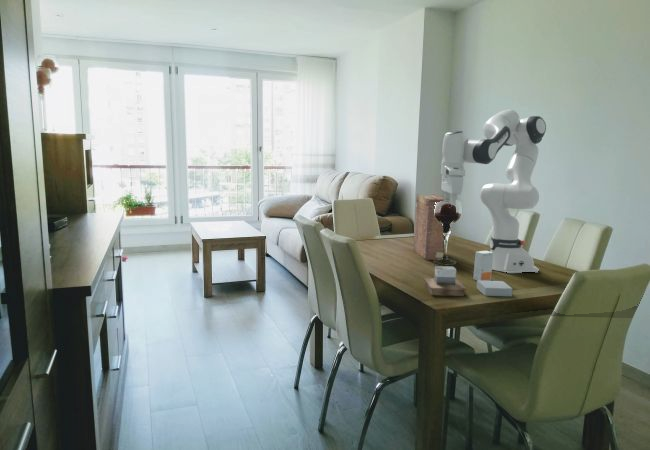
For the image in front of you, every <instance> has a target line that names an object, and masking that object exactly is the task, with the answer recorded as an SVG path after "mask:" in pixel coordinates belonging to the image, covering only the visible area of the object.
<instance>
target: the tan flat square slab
mask: <svg viewBox="0 0 650 450" xmlns="http://www.w3.org/2000/svg"><path fill="white" fill-rule="evenodd" d="M423 280H424V281H425V282H424V283H425V284H424V286H425V288H426V290H427V291H428V292H429V293H430V295H431V296H453V297H455V296H456V297H464V296H465V291H467V288H466V286H464V285H463V283H462V282H460V280H459V279H457V278H456V283H455V285H437V284H436V283H435V282H434V277H432V278H431V277H430V278H429V277H424V278H423Z"/></svg>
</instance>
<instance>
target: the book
mask: <svg viewBox="0 0 650 450" xmlns="http://www.w3.org/2000/svg"><path fill="white" fill-rule="evenodd" d="M444 200H445V197H442V196H440V195H436V194H432V195H428V194H427V195H421V194H416V200H415V201H416V202H415V216H414V217H415V219H414V220H415V221H414V235H413V236H414V237H413V250H414V251H415V252H416V253H417V254H418V255H420V257H422V258H423V259H424V260H426V261H427V260H428V261H439V260H438V259H442V258H443V257H444V258H445V249H444V240H445V241H446V235H445V236H444V235H443V227H442V224H441V223H440V222H439V221H437V220H436V219H437V218H435V216H434V209H435V206H434V205H436V204H435V202H436V203H437V202H440V201H444Z"/></svg>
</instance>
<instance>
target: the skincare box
mask: <svg viewBox="0 0 650 450" xmlns="http://www.w3.org/2000/svg"><path fill="white" fill-rule="evenodd" d="M474 255H475V256H474V265H473V266H474V268H473V277H472V278H473V280H474V281H477V280H479V281H492V271H493V270H492V262H493V253H492V252H490V251H489V250H480V251H478V250H477V251H475V254H474Z"/></svg>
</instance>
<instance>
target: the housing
mask: <svg viewBox="0 0 650 450" xmlns="http://www.w3.org/2000/svg"><path fill="white" fill-rule="evenodd" d="M456 277H457V268H456V267H454V266H448V265H447V266H443V265H441V266H439V265H435V266H434V277H433V278H434V282H435V283H436V284H437V285H455V283H456V279H457V278H456Z"/></svg>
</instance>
